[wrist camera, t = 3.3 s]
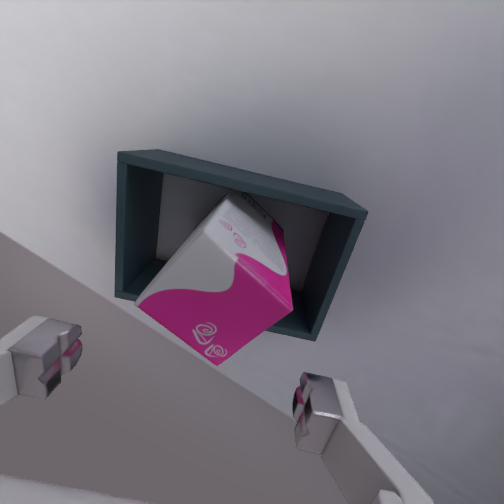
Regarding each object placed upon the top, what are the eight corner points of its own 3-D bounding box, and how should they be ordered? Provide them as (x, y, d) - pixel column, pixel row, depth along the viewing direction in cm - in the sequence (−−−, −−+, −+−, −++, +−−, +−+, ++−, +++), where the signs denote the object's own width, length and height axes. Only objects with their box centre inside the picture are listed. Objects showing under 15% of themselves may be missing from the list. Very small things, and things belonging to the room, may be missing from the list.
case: (149, 262, 25) (114, 297, 19) (157, 149, 21) (116, 151, 15) (305, 298, 25) (315, 342, 20) (342, 193, 21) (369, 211, 16)
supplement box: (191, 230, 23) (126, 303, 13) (237, 182, 21) (207, 220, 11) (239, 273, 24) (216, 371, 14) (286, 231, 23) (301, 308, 12)
